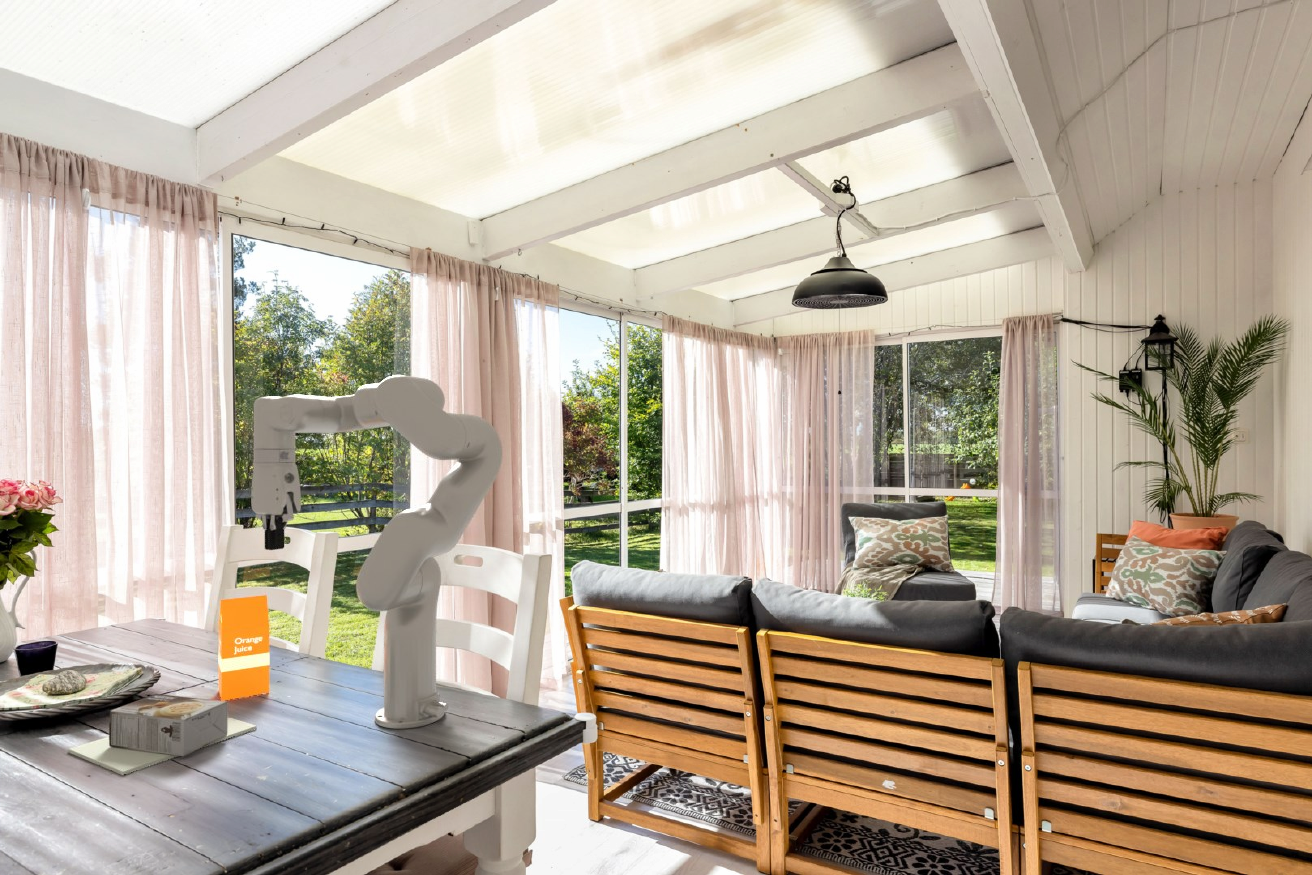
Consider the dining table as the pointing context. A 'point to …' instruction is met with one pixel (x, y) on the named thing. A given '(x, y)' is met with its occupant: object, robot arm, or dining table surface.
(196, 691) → the dining table surface
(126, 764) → the mat
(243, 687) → the orange juice
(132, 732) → the coffee box
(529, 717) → the dining table surface
